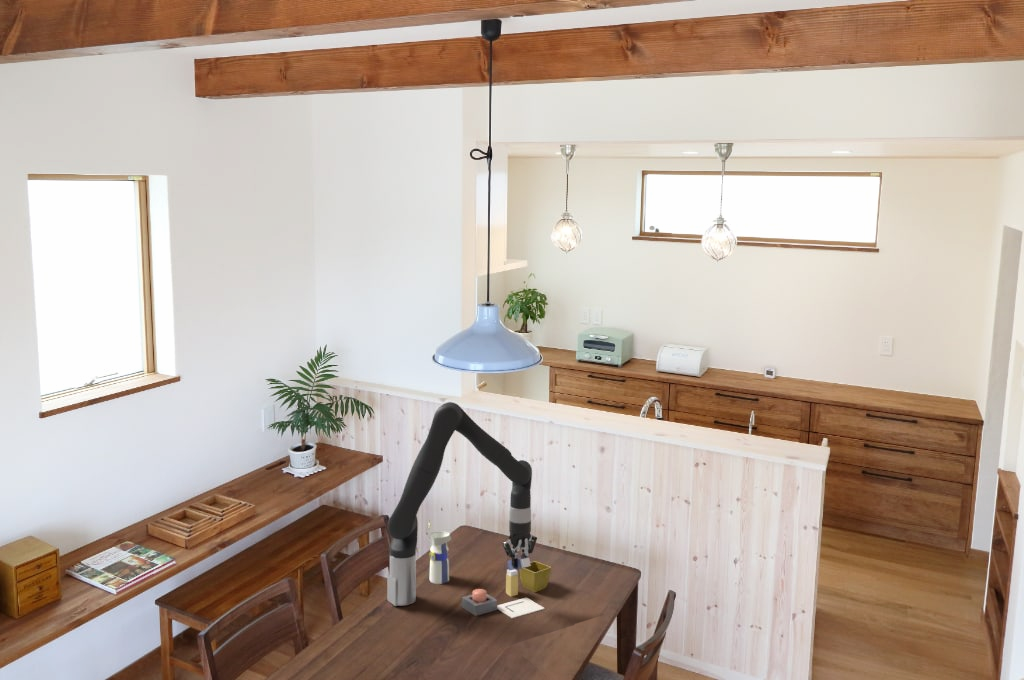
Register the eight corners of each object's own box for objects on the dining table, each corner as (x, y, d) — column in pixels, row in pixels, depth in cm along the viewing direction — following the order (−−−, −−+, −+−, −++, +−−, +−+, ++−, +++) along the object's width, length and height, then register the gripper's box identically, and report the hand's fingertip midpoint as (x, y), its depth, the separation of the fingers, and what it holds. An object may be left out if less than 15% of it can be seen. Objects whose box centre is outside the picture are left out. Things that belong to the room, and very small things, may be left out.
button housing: (475, 615, 290) (475, 606, 290) (461, 606, 298) (461, 597, 297) (497, 609, 295) (497, 600, 295) (483, 600, 303) (483, 591, 302)
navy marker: (509, 570, 297) (523, 568, 289) (507, 561, 297) (521, 558, 290) (516, 568, 298) (531, 566, 291) (514, 559, 299) (529, 556, 292)
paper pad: (512, 618, 289) (512, 617, 289) (494, 607, 298) (494, 606, 298) (544, 609, 297) (544, 608, 297) (526, 598, 306) (526, 597, 306)
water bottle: (437, 590, 311) (437, 524, 309) (423, 583, 318) (424, 518, 315) (454, 584, 317) (455, 520, 314) (441, 578, 323) (441, 514, 320)
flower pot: (534, 583, 320) (534, 560, 319) (551, 590, 313) (551, 566, 312) (518, 589, 313) (518, 566, 312) (534, 596, 307) (535, 572, 306)
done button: (477, 607, 293) (477, 595, 292) (469, 601, 297) (469, 591, 296) (489, 603, 296) (489, 592, 295) (481, 598, 300) (481, 587, 299)
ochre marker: (510, 597, 306) (511, 572, 305) (505, 594, 308) (506, 569, 307) (517, 595, 308) (518, 570, 307) (512, 592, 310) (513, 567, 309)
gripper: (509, 525, 285) (508, 574, 287) (542, 518, 293) (542, 566, 295) (497, 519, 291) (496, 567, 293) (530, 512, 299) (529, 559, 301)
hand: (519, 566), depth 294 cm, fingers closed on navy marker, 3 cm apart
